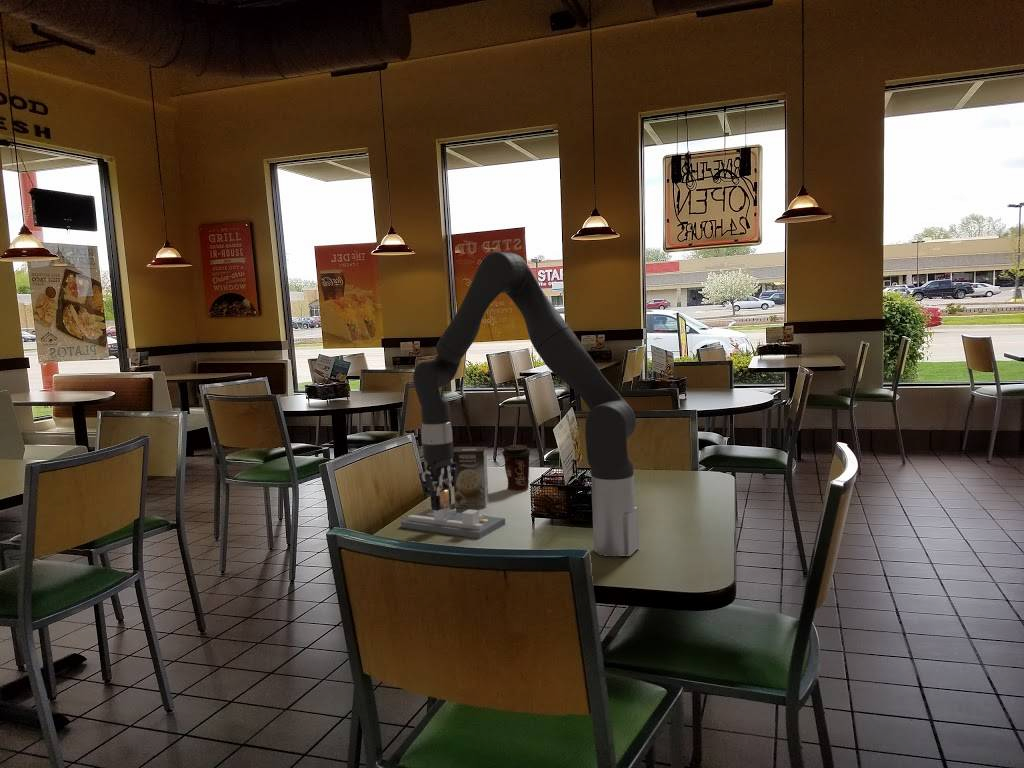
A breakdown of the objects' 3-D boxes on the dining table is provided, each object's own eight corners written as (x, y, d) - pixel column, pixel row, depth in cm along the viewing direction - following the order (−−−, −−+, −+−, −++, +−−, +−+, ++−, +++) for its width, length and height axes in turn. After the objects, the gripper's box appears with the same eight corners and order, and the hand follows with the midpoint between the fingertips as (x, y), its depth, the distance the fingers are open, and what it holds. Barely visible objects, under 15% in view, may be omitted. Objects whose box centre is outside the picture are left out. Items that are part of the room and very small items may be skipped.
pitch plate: (505, 524, 184) (504, 503, 184) (479, 538, 174) (478, 516, 173) (429, 514, 196) (427, 494, 196) (401, 527, 186) (399, 506, 185)
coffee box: (453, 508, 201) (450, 451, 199) (457, 502, 207) (454, 446, 205) (486, 507, 200) (483, 450, 198) (489, 501, 206) (486, 445, 205)
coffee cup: (499, 488, 220) (497, 446, 219) (523, 484, 224) (521, 442, 222) (511, 494, 212) (509, 451, 211) (536, 490, 216) (534, 447, 214)
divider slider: (462, 514, 186) (460, 484, 185) (444, 523, 180) (442, 492, 179) (449, 512, 188) (447, 483, 187) (431, 521, 182) (429, 491, 181)
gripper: (432, 446, 172) (437, 517, 174) (465, 435, 184) (469, 501, 186) (407, 444, 176) (412, 513, 178) (441, 434, 188) (445, 498, 190)
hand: (441, 507), depth 182 cm, fingers closed on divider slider, 4 cm apart
